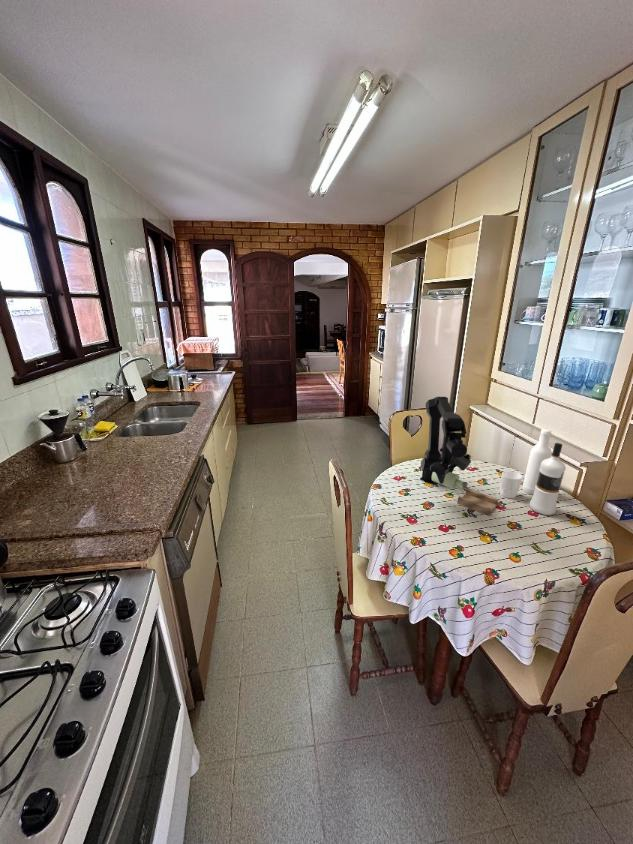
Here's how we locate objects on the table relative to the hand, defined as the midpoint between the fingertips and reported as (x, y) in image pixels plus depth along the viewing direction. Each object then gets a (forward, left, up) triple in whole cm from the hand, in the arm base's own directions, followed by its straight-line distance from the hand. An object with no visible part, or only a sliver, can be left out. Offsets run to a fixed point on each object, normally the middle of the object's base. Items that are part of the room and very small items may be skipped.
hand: (444, 481), depth 145 cm
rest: (+11, +10, -11) cm, 19 cm away
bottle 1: (+2, 0, -2) cm, 3 cm away
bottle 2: (+25, +39, -11) cm, 48 cm away
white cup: (+18, +28, -11) cm, 35 cm away
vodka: (+32, +25, -11) cm, 42 cm away
